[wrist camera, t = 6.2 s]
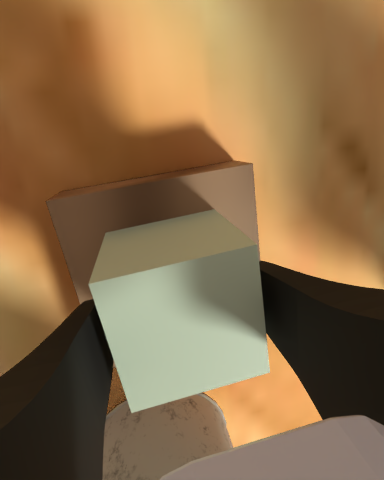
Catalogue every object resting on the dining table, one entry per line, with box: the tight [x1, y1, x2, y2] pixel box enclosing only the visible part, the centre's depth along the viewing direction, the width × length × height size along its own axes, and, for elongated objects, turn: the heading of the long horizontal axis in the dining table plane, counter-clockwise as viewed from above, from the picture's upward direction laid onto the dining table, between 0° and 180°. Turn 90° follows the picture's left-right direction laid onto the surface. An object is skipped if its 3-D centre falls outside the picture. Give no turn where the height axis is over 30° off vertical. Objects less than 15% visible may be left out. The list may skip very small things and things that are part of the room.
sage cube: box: [89, 209, 270, 413], centre depth 11 cm, size 5×5×5 cm
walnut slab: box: [46, 161, 260, 368], centre depth 15 cm, size 9×9×2 cm
